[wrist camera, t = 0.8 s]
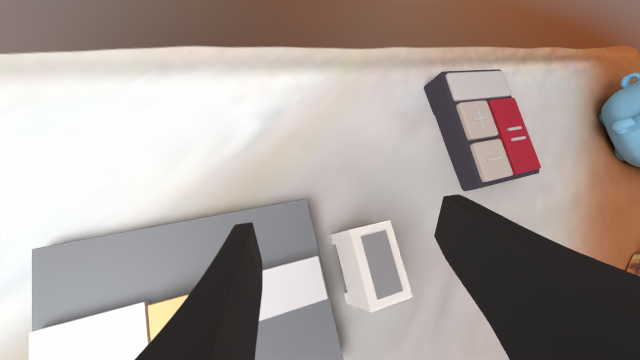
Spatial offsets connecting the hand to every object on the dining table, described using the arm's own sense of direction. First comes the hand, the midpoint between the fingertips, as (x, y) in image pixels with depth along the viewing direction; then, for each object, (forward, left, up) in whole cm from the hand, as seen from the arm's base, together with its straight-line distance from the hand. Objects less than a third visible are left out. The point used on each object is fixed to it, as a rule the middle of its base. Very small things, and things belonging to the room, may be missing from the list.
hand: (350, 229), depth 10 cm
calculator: (+9, -29, -17) cm, 34 cm away
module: (-3, -7, -16) cm, 18 cm away
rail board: (-3, +7, -16) cm, 18 cm away
